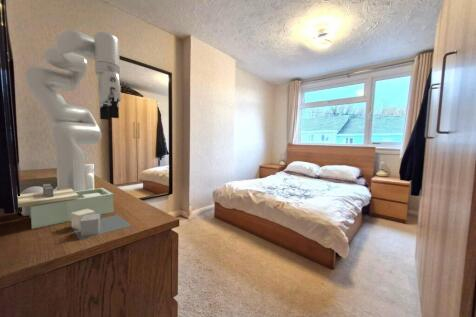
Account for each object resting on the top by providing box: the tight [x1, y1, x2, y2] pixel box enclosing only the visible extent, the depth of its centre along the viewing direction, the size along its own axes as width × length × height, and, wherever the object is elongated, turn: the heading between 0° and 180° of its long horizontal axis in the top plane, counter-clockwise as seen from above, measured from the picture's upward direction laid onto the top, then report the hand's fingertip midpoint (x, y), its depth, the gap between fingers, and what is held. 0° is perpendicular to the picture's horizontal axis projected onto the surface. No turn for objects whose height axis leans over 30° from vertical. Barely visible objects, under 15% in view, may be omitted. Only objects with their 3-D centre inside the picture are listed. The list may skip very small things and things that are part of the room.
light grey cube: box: [80, 214, 101, 237], centre depth 54 cm, size 4×4×4 cm
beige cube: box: [71, 209, 95, 230], centre depth 57 cm, size 4×4×4 cm
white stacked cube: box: [82, 193, 101, 198], centre depth 69 cm, size 4×4×5 cm
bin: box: [29, 187, 115, 230], centre depth 66 cm, size 12×20×6 cm, turn 137°
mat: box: [70, 214, 133, 241], centre depth 58 cm, size 12×12×1 cm
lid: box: [17, 183, 79, 209], centre depth 61 cm, size 12×12×4 cm
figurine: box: [84, 163, 95, 190], centre depth 79 cm, size 7×9×15 cm
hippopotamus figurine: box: [19, 185, 60, 217], centre depth 69 cm, size 8×12×9 cm, turn 139°
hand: (109, 118), depth 76 cm, fingers open, 9 cm apart
